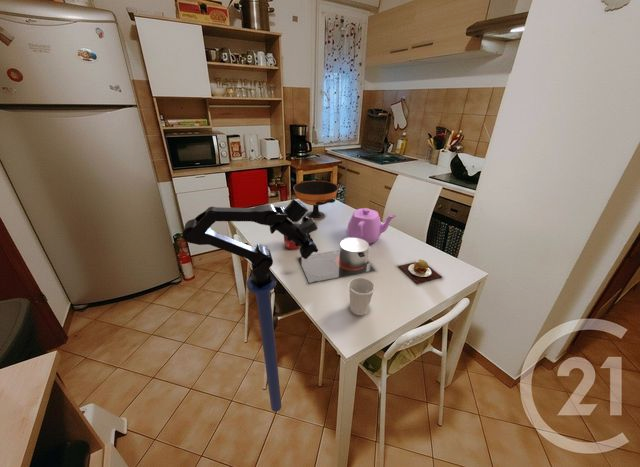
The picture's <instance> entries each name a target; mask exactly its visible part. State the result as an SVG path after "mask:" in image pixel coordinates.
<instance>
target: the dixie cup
mask: <svg viewBox="0 0 640 467" xmlns="http://www.w3.org/2000/svg"><path fill="white" fill-rule="evenodd" d="M347 286H348V292H349V304H350V311H351V312H352V313H353V314H354V315H356V316H364V315H366V314H367V313H368V310H369V308H370V305H371V301H372V298H373V294H374V292H375V289H376V286H375V284H374V282H373V281H371V280H370V279H368V278H365V277H355V278H353V279H351V280H350V281H348V285H347Z"/></svg>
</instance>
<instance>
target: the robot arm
mask: <svg viewBox="0 0 640 467" xmlns="http://www.w3.org/2000/svg"><path fill="white" fill-rule="evenodd" d="M308 213H309V209H308V208H307V206H305V205H304V204H303V202H302V201H300V200H297V199H296V198H293V199H291V201H290V202H289V203H288V204H287V206H286V207H285V208H284V206H274V205H273V204H271V203H270V204H267V203H266V204H260V205H257V206H254V207H220V206H219V207H217V206H209V207H208V208H206V209H205V210H204V211H203V212H201V213H199V214H198V215H197V216H196V217H194V218H193V219H189V220H187V221H186V223H185V225H184V228H183V231H182V238H183V240H184V241H185V242H187V243H189V244H193V245H198V246H204V245H205V246H207V245H209V246H211V247H215V248H217V249H220V250H222V251H225V252H228V253H230V254H233V255H236V256H238V257H241V258H244V259H246V260H248V261H249V262H250V264H251V269H250V274H251V276H252V280H250V282H251V283H252V284H254V285H255V286H256V287H258V288H259V289H260V288H262V287H264V286H266V285H267V284H269V283H271V282H272V281H273V280H272V279H271V269H270V268H271V267H272V266H273V264H274V260H273V256H272V253H271V250H270V249H269V248H268V246H267V245H266V246H264V245H262V244H261V243H257V245H255V246H251V245H249V244H246V243H244V242H241V241H239V240H236V239H233V238H231V237H229V236H227V235H223V234H221V233H219V232H216V231H214V230H213V229H212V228H211V227H212V225H214V224H215V223H216V222H250V223H251V222H252V223H255V224H259V225H262V226H268V227H269V231H270V234H274V233H275V232H276V231H277V232H278V233H280V234H281V235H282V236H283V237H284V236H285V237H286V238H287V240H288V241H290V240H291V241H292V242H294V244H295V246H297V247H298V246H300V248H298V249H299V250H298V252H299V254H300V256H301V257H303V258H304V259H307V258H308V257H309V256H312V254H313V253H318V252H319V249H318V246H317V245H316V243H315V242H314V239H313V238H312V237H311V233H313V232H315V231H317V230H318V226H317V224H316V222H315V219H312V218H308V217H307V214H308ZM300 220H301V222H300ZM292 222H298V223H299V222H300V224H297V223H296V224H294V223H292Z"/></svg>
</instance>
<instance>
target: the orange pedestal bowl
mask: <svg viewBox="0 0 640 467" xmlns="http://www.w3.org/2000/svg"><path fill="white" fill-rule="evenodd" d="M292 189H293V191H294V193H295V196H296V198H297V199H298V201H299V202H301V203H302V204H303V203H304V204H306V205H310V206H312V211H309V212H307V213H306V217H308V218H312V219H313V220H321V219H323V218H325V212H322V211H320V208H319V206H323V205H326V204H331V203H332V204H333V203H335V202H336V199H335V197H336V196H337V193H338V191H339V185H338V184H336V183H334V182H331V181H327V180H301V181H300V182H297V183H296V184H294V185H293V187H292Z"/></svg>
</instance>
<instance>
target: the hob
mask: <svg viewBox="0 0 640 467" xmlns="http://www.w3.org/2000/svg"><path fill="white" fill-rule="evenodd" d="M339 256H340V250H337V251H332V252H327V253H319V254H314V255H310V256H309V257H308V258H307V259H304V258H303V257H302V256H301V257H297V260H298V261H299V264H300V266H301V268H302V270H303V272H304V276H305V277H306V279H307V281H308V284H314V283H320V282H323V281H329V280H334V279H340V278H345V277H349V276H350V277H351V276H356V275H360V274H361V275H362V274H365V273H370V272H376V269H375V268H374V267H373V266H372V264H371V263H370V262H369V260H367V264H366V265H365V266H364V267H362V268H358V269H353V268H348V267H345V266H343V265H342V264H341V263H340V261H339Z"/></svg>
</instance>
